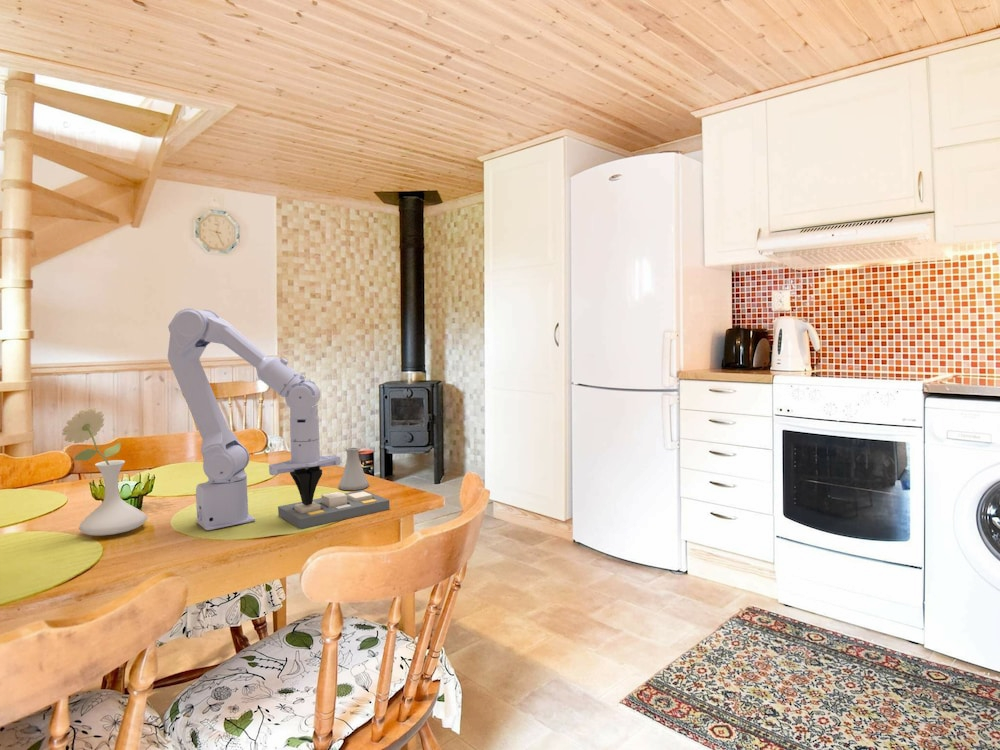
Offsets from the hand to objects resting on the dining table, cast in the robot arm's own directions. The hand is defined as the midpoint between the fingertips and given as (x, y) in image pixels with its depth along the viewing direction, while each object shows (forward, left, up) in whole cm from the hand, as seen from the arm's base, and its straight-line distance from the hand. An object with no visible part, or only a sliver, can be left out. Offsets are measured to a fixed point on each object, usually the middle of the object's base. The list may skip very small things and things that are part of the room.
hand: (307, 503), depth 127 cm
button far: (+12, 0, -2) cm, 12 cm away
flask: (+19, +17, -3) cm, 26 cm away
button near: (0, 0, -2) cm, 2 cm away
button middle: (+6, 0, -1) cm, 6 cm away
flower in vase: (-33, +18, -3) cm, 38 cm away
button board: (+6, 0, -3) cm, 7 cm away
